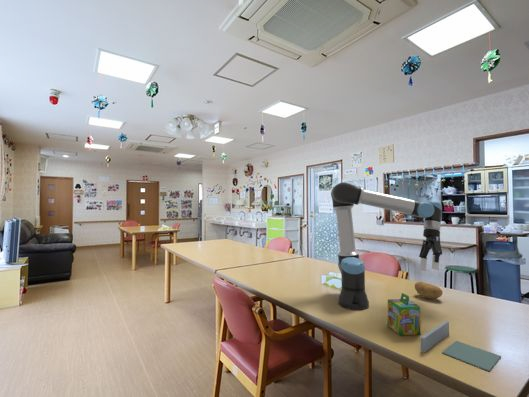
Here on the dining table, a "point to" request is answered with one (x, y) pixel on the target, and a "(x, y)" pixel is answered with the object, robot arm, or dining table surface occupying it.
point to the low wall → (434, 336)
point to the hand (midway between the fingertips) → (428, 269)
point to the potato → (428, 290)
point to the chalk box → (404, 316)
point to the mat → (472, 355)
